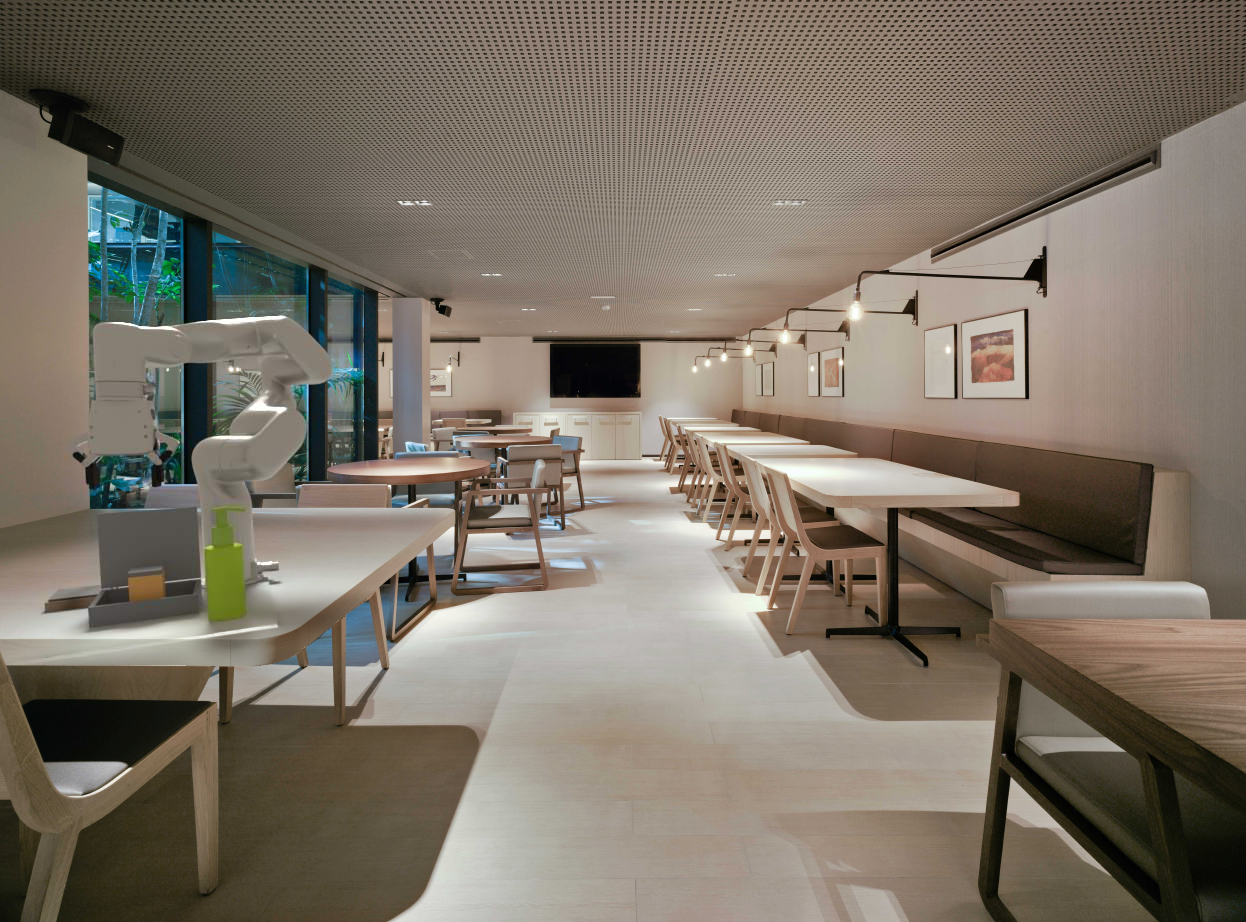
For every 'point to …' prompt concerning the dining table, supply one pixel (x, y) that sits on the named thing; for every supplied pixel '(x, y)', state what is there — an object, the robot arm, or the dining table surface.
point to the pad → (73, 598)
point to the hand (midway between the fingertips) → (126, 487)
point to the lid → (148, 544)
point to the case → (145, 604)
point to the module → (146, 583)
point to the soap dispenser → (224, 570)
